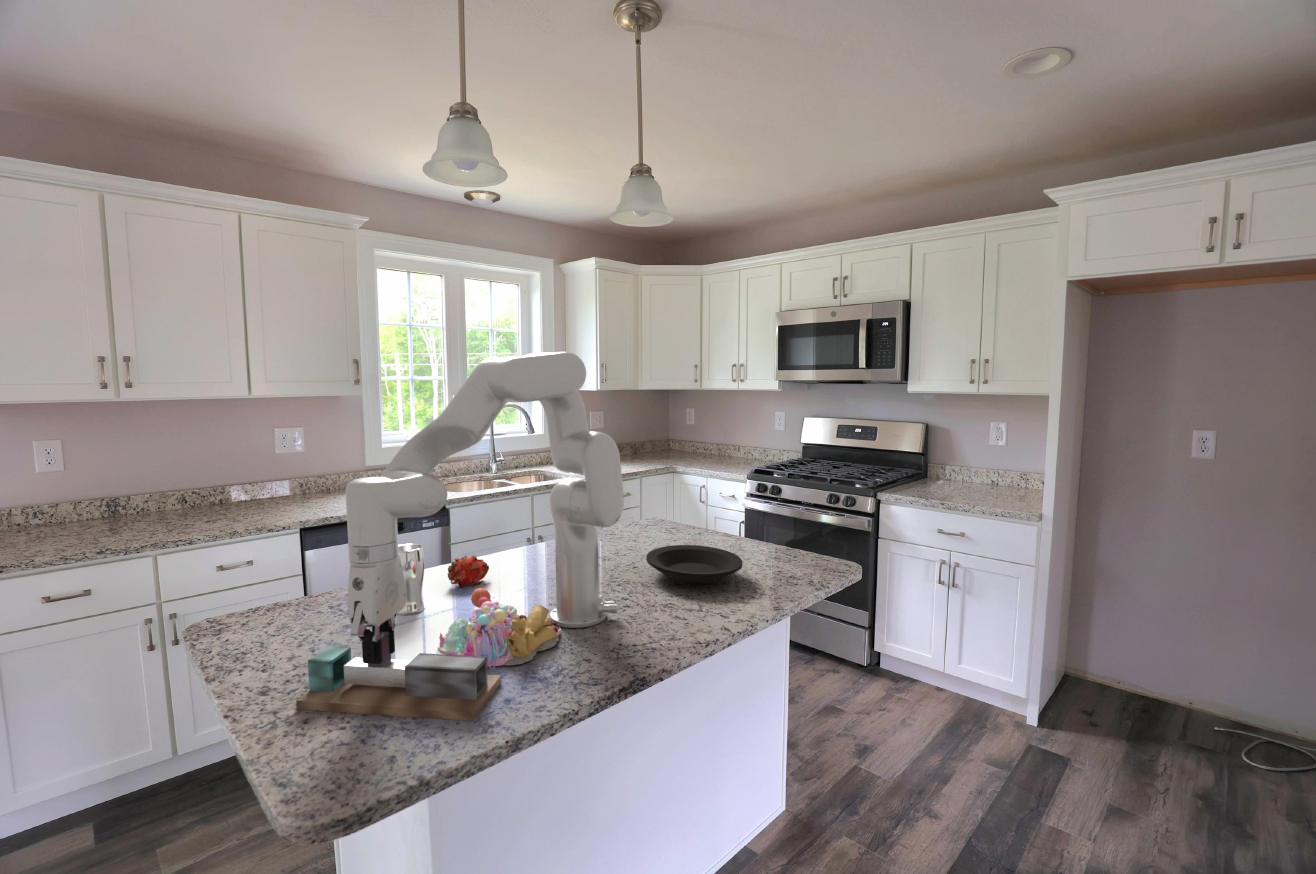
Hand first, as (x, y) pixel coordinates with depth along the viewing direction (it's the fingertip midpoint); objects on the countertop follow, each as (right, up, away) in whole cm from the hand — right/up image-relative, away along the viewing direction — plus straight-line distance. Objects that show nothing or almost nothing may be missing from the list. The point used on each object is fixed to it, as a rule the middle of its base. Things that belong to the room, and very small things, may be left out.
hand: (379, 656), depth 105 cm
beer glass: (-10, -3, +39) cm, 41 cm away
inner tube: (+4, -4, 0) cm, 6 cm away
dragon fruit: (-2, -2, +57) cm, 57 cm away
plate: (+57, -1, +61) cm, 83 cm away
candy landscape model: (+15, -5, +22) cm, 27 cm away
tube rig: (+4, -7, 0) cm, 8 cm away
